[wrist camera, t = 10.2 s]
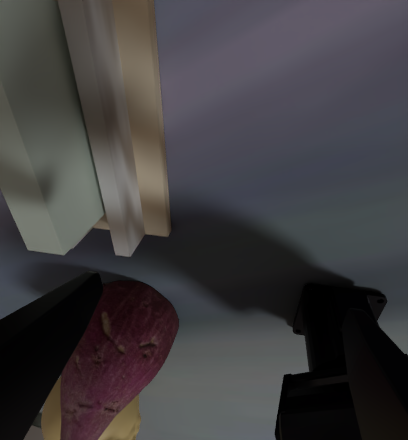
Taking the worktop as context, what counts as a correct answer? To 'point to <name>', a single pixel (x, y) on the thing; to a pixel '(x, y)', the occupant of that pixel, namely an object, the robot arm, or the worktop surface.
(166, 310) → the vegetable
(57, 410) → the yellow rounded lump
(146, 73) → the track
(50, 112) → the rectangular block
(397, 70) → the worktop surface
